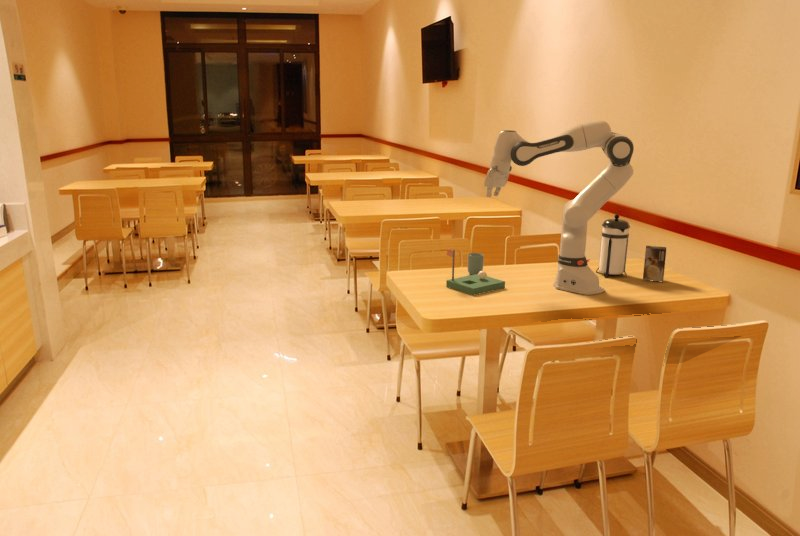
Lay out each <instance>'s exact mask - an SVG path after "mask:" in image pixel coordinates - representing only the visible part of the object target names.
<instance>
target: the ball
mask: <svg viewBox="0 0 800 536" xmlns="http://www.w3.org/2000/svg"><path fill="white" fill-rule="evenodd" d="M486 277H487V272H486V271H485V270H483V271H480V272H479V273H478V278H479V279H481V280H484V279H485V278H486Z"/></svg>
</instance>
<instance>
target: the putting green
mask: <svg viewBox="0 0 800 536" xmlns="http://www.w3.org/2000/svg"><path fill="white" fill-rule="evenodd" d="M455 252H456V251H455V249H449V248H446V256H447V257H452V268H451V270H452V271H451V272H452V273H451V279H447V280H446V285H445V286H447V287H446V288H449V287H450V288H449V289H452V288H453V290H455V289H456V290H455V291H458V290H459V291H458V292H461V291H462V293H464V292H465V293H464V294H467V293H468V294H467V295H470V294H472V295H471V296H475V295H474V294H477V295H480V294H479V293H481V294H484V293H483V292H485V293H489V292H488V291H490V292H493V291H492V290H494V291H497V289H498V290H501V289H506V281H505V280H502V279H498V278H494V277H491V276H487V277H486V278H485V279H484V280H481V279H479V278H478V274H474V275H471V274H469V275H465V276H461V277H456V278H455V257H456V256H455V255H456V254H455Z"/></svg>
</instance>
